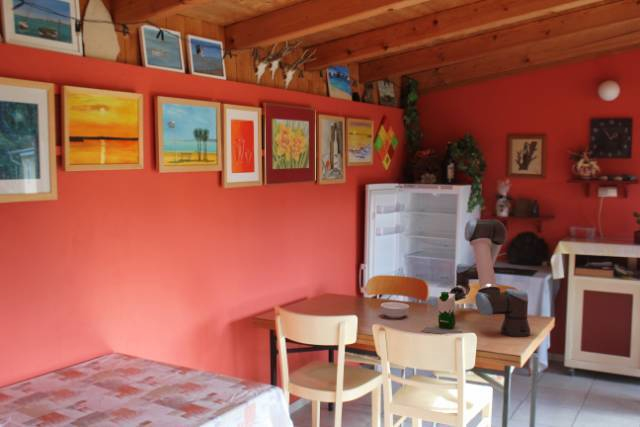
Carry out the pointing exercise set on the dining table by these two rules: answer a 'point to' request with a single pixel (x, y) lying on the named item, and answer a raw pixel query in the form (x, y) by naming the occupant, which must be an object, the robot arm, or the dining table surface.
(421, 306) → the dining table surface
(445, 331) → the mat
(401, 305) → the cereal bowl
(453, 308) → the soya milk
